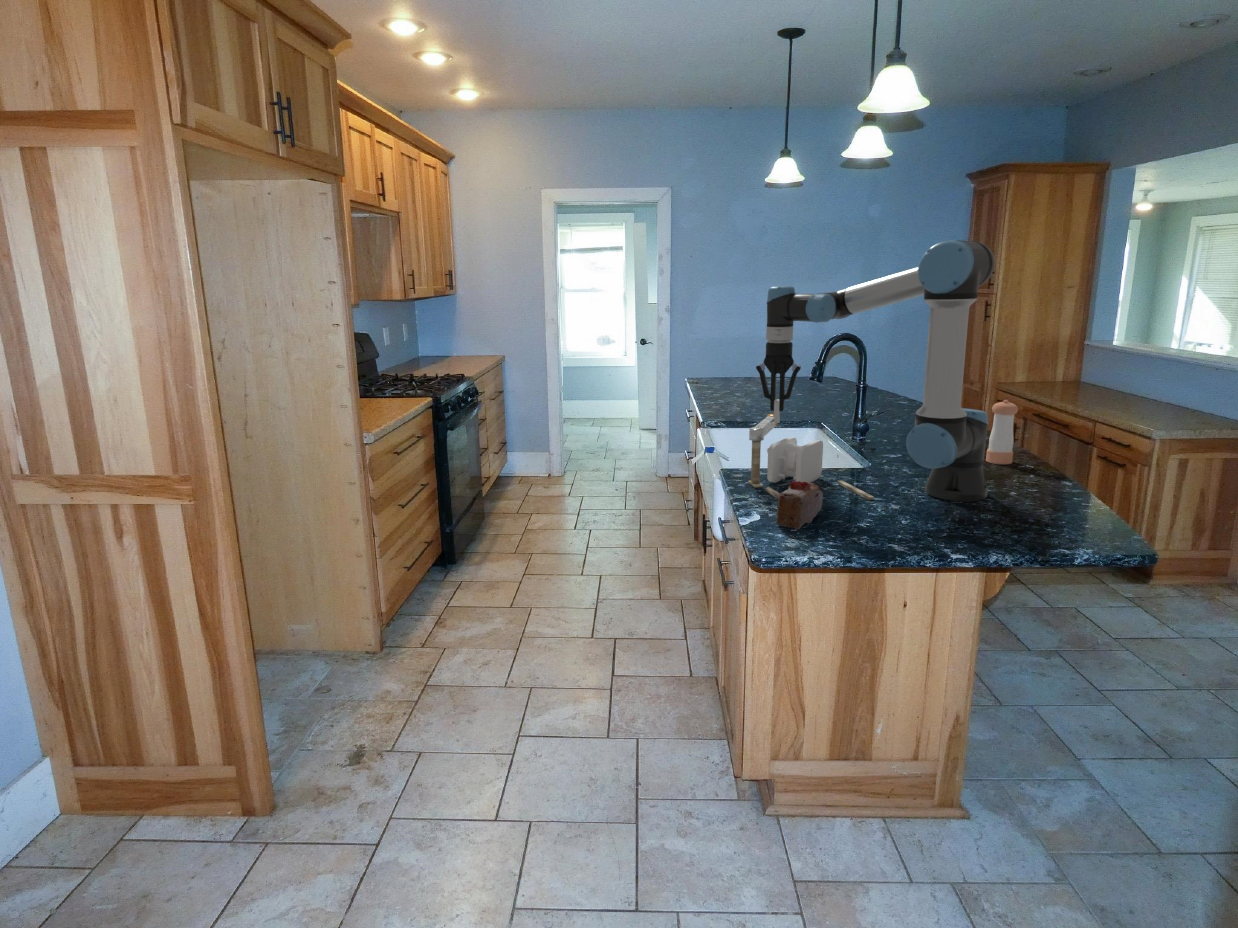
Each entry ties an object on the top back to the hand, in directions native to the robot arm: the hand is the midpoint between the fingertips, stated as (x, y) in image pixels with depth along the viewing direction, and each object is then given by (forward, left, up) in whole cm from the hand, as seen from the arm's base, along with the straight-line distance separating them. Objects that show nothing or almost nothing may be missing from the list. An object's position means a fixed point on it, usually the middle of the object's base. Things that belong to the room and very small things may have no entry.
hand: (776, 421), depth 217 cm
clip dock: (-21, 0, -15) cm, 26 cm away
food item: (-42, +13, -16) cm, 47 cm away
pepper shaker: (-11, -70, -15) cm, 72 cm away
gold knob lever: (-4, +5, -2) cm, 7 cm away
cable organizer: (-11, -1, -16) cm, 19 cm away
